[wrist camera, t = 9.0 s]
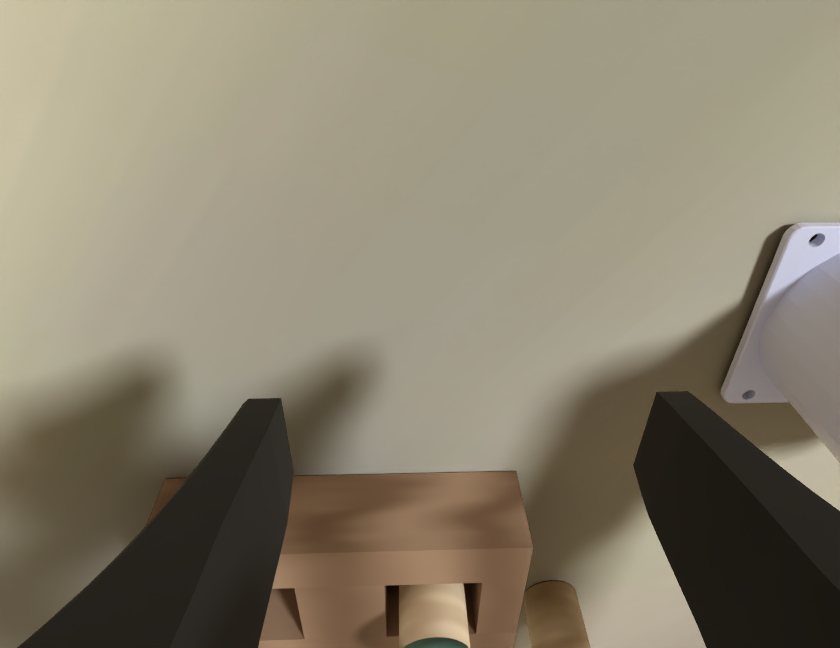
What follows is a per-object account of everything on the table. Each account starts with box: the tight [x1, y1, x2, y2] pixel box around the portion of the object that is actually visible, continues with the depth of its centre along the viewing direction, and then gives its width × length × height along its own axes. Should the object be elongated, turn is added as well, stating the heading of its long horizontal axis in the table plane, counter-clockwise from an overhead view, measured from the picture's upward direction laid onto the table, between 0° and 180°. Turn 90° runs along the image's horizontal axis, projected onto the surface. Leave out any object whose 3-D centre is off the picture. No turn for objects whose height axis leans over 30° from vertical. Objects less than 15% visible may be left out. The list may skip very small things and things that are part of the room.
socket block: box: [146, 471, 533, 648], centre depth 27 cm, size 16×9×4 cm, turn 89°
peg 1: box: [399, 583, 470, 648], centre depth 26 cm, size 3×3×7 cm
